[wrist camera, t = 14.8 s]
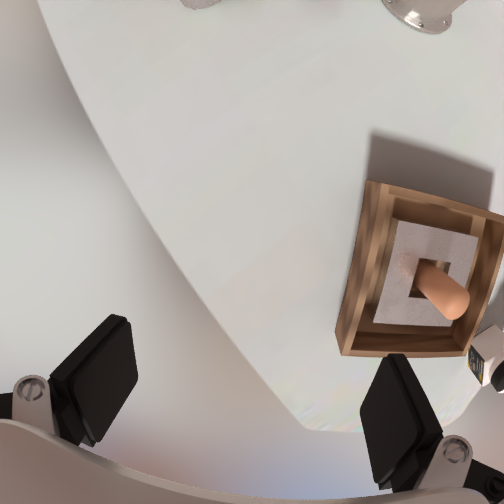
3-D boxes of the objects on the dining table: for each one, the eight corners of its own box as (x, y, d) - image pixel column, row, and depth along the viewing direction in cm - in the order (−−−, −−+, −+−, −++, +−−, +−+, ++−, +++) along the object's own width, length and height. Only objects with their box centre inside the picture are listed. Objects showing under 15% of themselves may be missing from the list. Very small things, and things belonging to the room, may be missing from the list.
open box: (366, 180, 34) (381, 182, 28) (487, 211, 32) (511, 218, 26) (334, 331, 40) (341, 355, 34) (449, 336, 39) (465, 356, 33)
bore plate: (391, 216, 34) (398, 220, 31) (469, 233, 33) (478, 237, 30) (368, 313, 38) (372, 322, 35) (443, 318, 37) (450, 326, 34)
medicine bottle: (467, 340, 39) (498, 379, 27) (494, 322, 37) (528, 356, 26) (467, 366, 40) (493, 404, 29) (493, 348, 39) (522, 383, 27)
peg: (415, 258, 35) (450, 286, 25) (437, 261, 34) (473, 289, 25) (407, 285, 36) (438, 319, 26) (429, 287, 36) (462, 320, 26)
